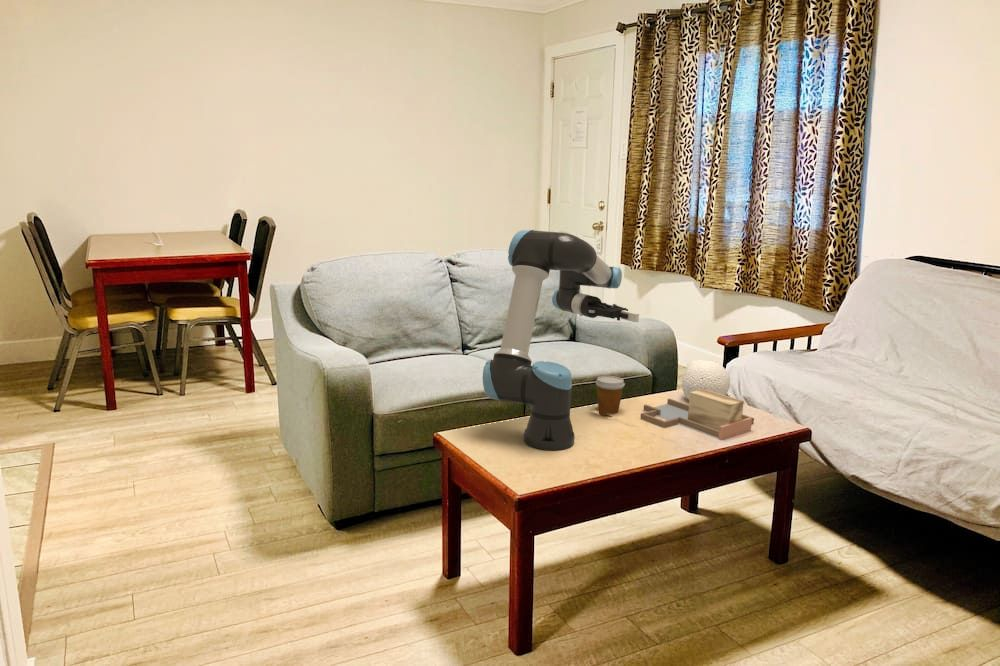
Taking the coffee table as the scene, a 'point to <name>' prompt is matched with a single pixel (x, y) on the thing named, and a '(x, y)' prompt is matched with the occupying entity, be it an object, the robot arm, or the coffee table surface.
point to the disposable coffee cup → (609, 394)
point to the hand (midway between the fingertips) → (637, 318)
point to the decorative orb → (705, 377)
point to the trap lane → (679, 415)
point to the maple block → (714, 408)
